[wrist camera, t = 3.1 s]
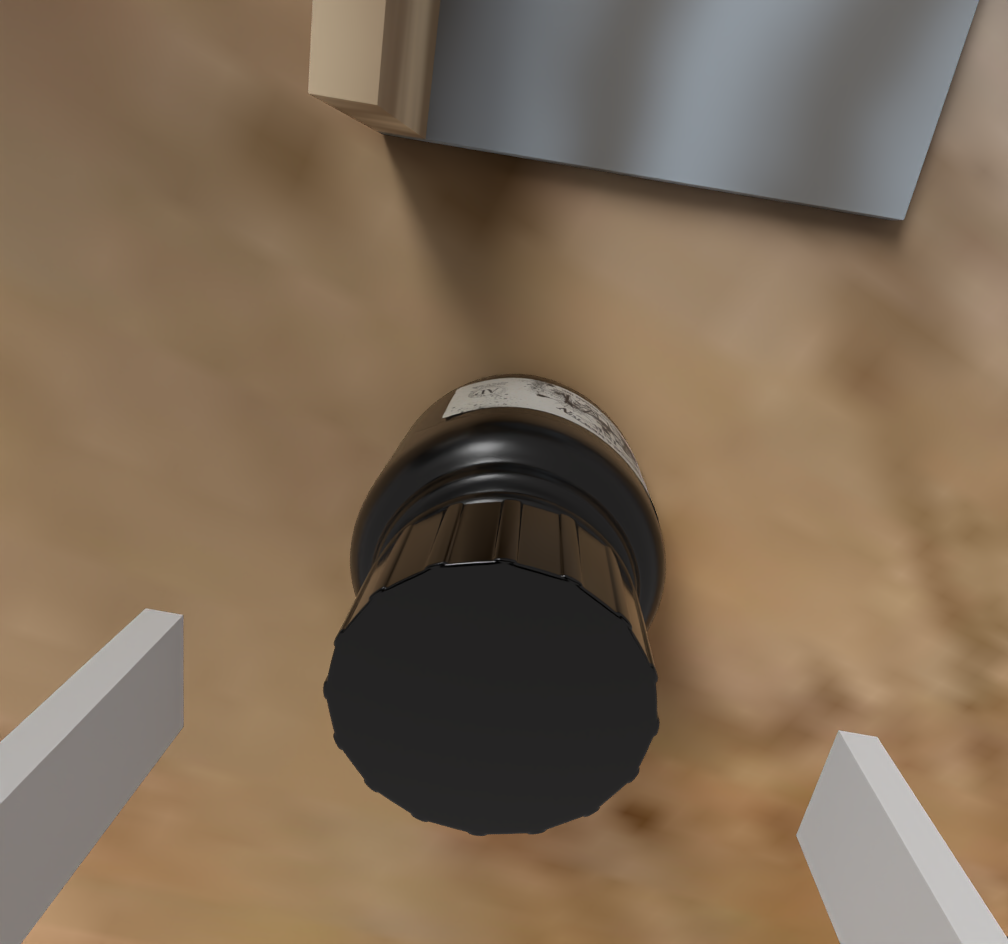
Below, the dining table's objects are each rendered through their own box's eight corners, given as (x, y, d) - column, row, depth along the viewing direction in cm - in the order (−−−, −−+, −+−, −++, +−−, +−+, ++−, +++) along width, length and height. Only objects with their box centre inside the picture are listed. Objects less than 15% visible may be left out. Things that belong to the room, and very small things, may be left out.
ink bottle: (696, 501, 25) (821, 734, 13) (523, 643, 27) (507, 940, 16) (505, 307, 23) (465, 389, 11) (338, 480, 25) (170, 686, 14)
